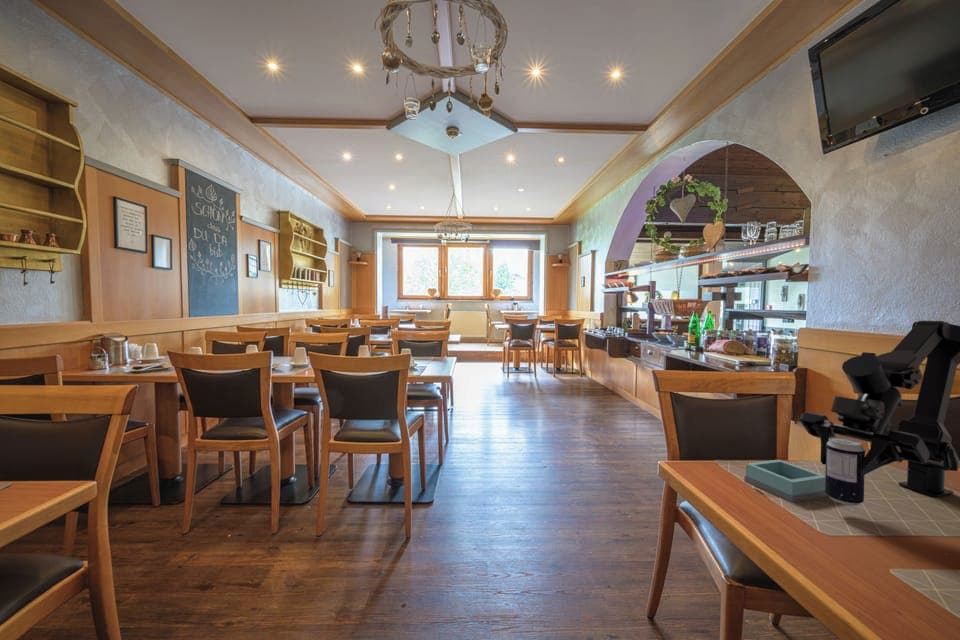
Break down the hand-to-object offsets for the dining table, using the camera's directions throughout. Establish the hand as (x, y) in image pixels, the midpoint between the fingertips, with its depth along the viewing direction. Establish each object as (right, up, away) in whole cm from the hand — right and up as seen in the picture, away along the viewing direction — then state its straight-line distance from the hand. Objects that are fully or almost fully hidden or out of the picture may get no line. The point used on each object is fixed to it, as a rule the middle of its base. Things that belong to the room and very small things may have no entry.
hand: (840, 468), depth 78 cm
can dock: (-1, -9, +12) cm, 15 cm away
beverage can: (+1, -7, +1) cm, 7 cm away
